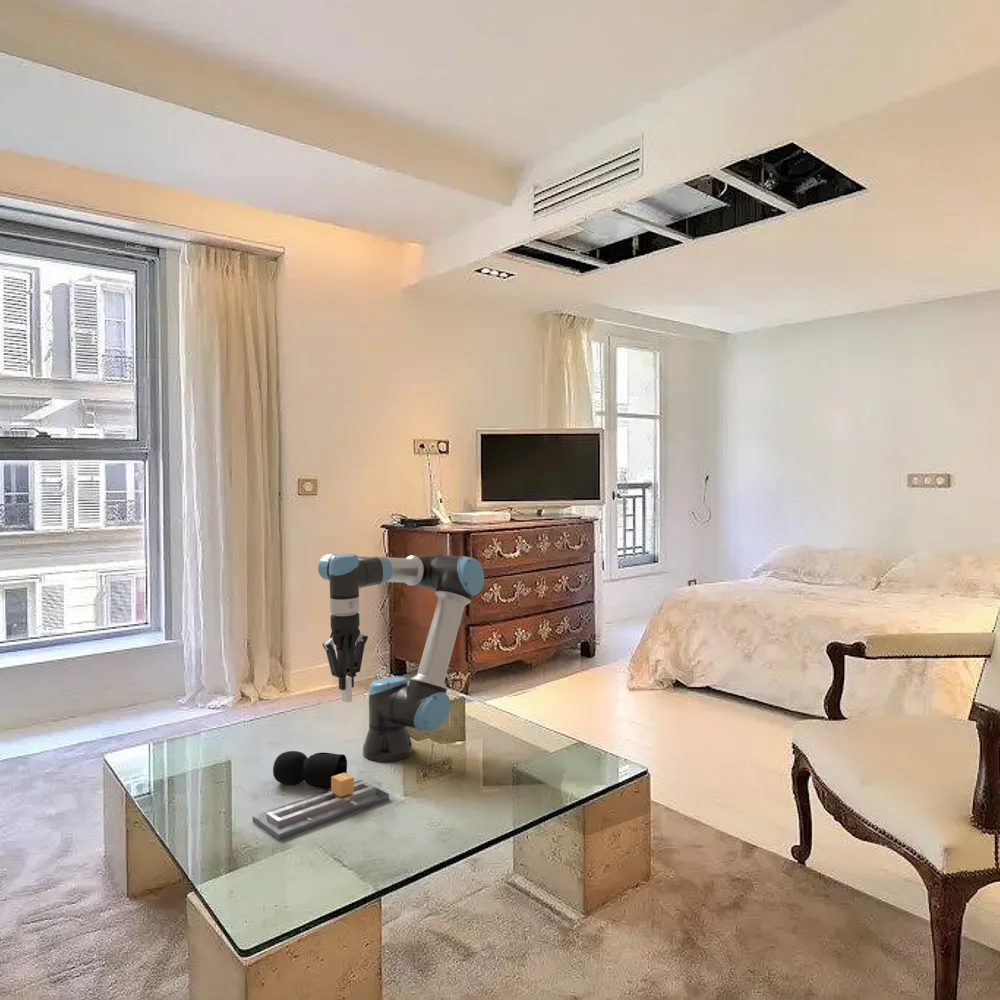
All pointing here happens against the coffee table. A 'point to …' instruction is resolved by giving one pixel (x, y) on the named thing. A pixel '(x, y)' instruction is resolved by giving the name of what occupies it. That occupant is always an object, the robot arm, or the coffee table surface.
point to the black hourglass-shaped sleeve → (308, 768)
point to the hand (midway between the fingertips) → (346, 700)
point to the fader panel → (317, 810)
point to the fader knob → (342, 785)
